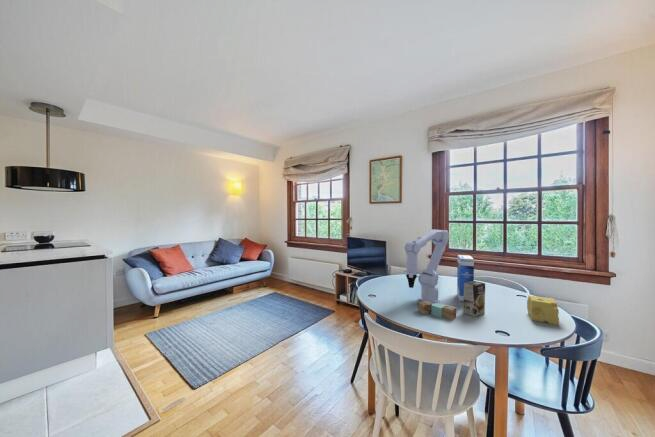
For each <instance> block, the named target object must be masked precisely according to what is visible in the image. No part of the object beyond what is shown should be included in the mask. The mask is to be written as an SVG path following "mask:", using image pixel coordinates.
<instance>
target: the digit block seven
mask: <svg viewBox="0 0 655 437" xmlns="http://www.w3.org/2000/svg"><path fill="white" fill-rule="evenodd" d="M444 305H445V306H444V307H442V318H445V319H448V320H450V321H451V320H452V321H454V320H455V319H456V318H457V307H456V306H453V305H452V306H451V305H449V304H444Z"/></svg>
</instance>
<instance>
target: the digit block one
mask: <svg viewBox="0 0 655 437" xmlns="http://www.w3.org/2000/svg"><path fill="white" fill-rule="evenodd" d="M431 305H433V304H432V303H429V302H427V301H421V300H420V301H417V312H419V313H420V314H422V315H431Z"/></svg>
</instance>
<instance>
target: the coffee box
mask: <svg viewBox="0 0 655 437" xmlns="http://www.w3.org/2000/svg"><path fill="white" fill-rule="evenodd" d="M462 302H463V303H462V305H463V307H462V313H464V314H466V315H469V316H472V317H478V316H481V315H484V314H486V313H485V312H486V310H485V308H486V307H485V306H486V283H485V282H481V281H476V280H474V281H470V282H465V283H464V300H463V301H462Z"/></svg>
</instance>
